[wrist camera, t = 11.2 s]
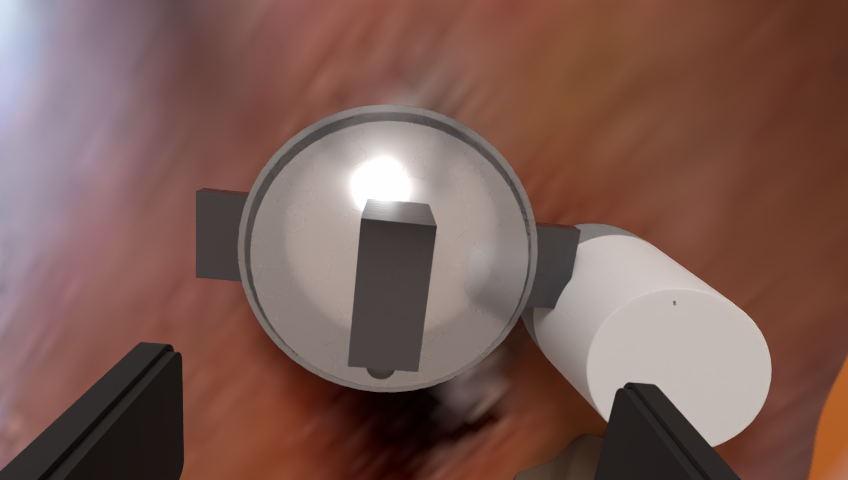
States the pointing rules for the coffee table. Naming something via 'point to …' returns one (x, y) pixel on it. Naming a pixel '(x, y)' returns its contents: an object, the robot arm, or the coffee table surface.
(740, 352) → the smart speaker
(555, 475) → the decorative dome
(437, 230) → the steel lid
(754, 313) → the coffee table surface
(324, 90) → the coffee table surface
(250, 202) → the cooker pot
